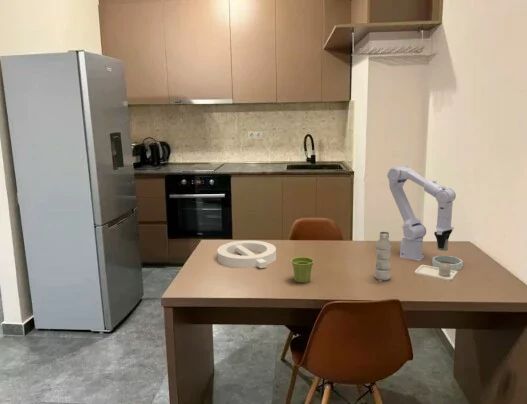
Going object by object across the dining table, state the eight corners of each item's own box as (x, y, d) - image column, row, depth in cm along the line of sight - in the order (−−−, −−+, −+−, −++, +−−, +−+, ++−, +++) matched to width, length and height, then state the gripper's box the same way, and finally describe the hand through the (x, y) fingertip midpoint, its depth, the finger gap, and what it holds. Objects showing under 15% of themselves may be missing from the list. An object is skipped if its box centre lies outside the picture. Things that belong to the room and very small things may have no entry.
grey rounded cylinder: (437, 275, 183) (438, 265, 182) (440, 272, 187) (441, 262, 186) (448, 277, 181) (449, 267, 180) (451, 274, 184) (452, 264, 183)
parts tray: (413, 275, 186) (413, 271, 186) (421, 267, 194) (421, 264, 194) (451, 282, 177) (451, 279, 177) (457, 274, 186) (457, 271, 186)
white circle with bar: (265, 271, 194) (265, 261, 193) (207, 265, 203) (207, 255, 202) (282, 252, 220) (282, 242, 219) (231, 247, 229) (230, 238, 228)
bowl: (429, 268, 194) (429, 261, 193) (436, 260, 203) (437, 253, 202) (458, 273, 187) (458, 266, 186) (464, 265, 196) (465, 258, 195)
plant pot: (286, 279, 183) (286, 259, 181) (303, 274, 189) (303, 255, 187) (301, 286, 176) (301, 266, 174) (318, 281, 181) (318, 261, 179)
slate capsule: (435, 249, 194) (436, 239, 193) (438, 247, 198) (439, 237, 197) (446, 251, 192) (447, 241, 191) (448, 248, 195) (449, 238, 194)
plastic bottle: (391, 277, 184) (393, 231, 180) (390, 283, 177) (392, 235, 173) (375, 275, 186) (376, 230, 182) (373, 281, 179) (375, 234, 175)
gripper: (449, 221, 184) (447, 252, 186) (458, 214, 195) (455, 244, 198) (432, 219, 188) (430, 249, 190) (441, 212, 199) (439, 241, 202)
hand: (442, 246), depth 194 cm, fingers closed on slate capsule, 4 cm apart
